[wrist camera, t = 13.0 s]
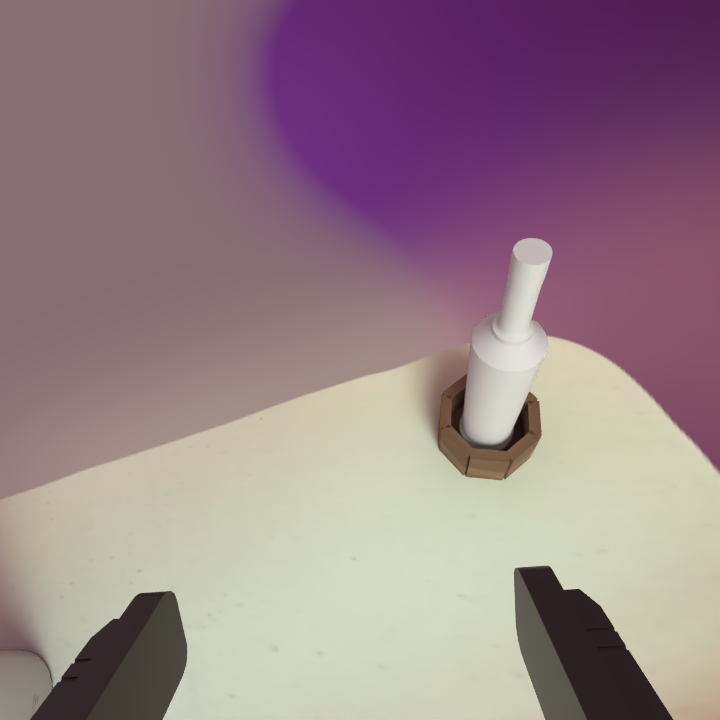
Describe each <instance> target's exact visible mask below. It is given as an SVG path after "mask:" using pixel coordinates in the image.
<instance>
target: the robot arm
mask: <svg viewBox="0 0 720 720" xmlns="http://www.w3.org/2000/svg"><path fill="white" fill-rule="evenodd" d="M514 586H515V612H516V629H517V636H518V641H519V646H520V650H521V653H522V656H523V659H524V662H525V665H526V668H527V670H528V673H529V676H530V678H531V681H532V684H533V687H534V689H535V692H536V695H537V698H538V700H539V703H540V706H541V708H542V711H543V714H544V717H545V719H546V720H673V719H672V717H671V715H670V714H669V712H668V711H667V709H666V708H665V706H664V705H663V703H662V701H661V700H660V698H659V697H658V695H657V694H656V692H655V691H654V689H653V687H652V686H651V684H650V683H649V681H648V680H647V678H646V676H645V675H644V673H643V672H642V670H641V669H640V667H639V666H638V664H637V662H636V661H635V659H634V658H633V656H632V655H631V653H630V652H629V650H627V649H626V645H625V644H624V642H623V641H622V639H621V638H620V636H619V634H618V633H617V632H615V630H614V627H613V625H612V624H611V622H610V620H609V619H608V617H607V616H606V614H605V613H604V611H603V609H602V608H601V606H600V605H598V604H597V603H596V602H595V601H593V600H592V599H591V598H590V597H588V596H587V595H586V594H585V593H584V592H582V591H581V590H580V589H572V590H563V588H562V586H561V584H560V583H559V581H558V579H557V577H556V576H555V574H554V572H553V570H552V569H551V567H550V566H536V567H522V568H515V571H514ZM186 661H187V643H186V639H185V634H184V630H183V625H182V621H181V617H180V612H179V608H178V603H177V599H176V596H175V594H174V593H173V592H171V591H166V592H152V593H140V594H138V595H137V596H135V598H134V599H133V600H132V602H131V603H130V604H129V606H128V607H127V609H126V610H125V611H124V613H123V614H122V616H121V617H120V619H113V620H112V621H110V622H109V623H108V624H107V625H106V626H105V627H103V628H102V629H101V630H100V631H99V632H98V633H96V634H95V635H94V636H93V637H92V638H91V639H90V640H89V641H88V643H87V644H86V645H85V647H84V648H83V649H82V651H81V652H80V653H79V655H78V656H77V657H76V659H75V663H74V664H71V665H70V667H69V668H68V669H67V671H66V672H65V674H64V675H63V676H62V679H61V682H58V683H57V684H56V686H55V687H54V688H53V690H52V682H51V677H50V672H49V670H48V668H47V666H46V664H45V663H44V661H43V660H42V659H41V658H40V657H39V656H37V655H35V654H34V653H32V652H29V651H23V650H0V720H163V717H164V715H165V713H166V711H167V709H168V707H169V704H170V702H171V700H172V698H173V696H174V694H175V691H176V689H177V687H178V685H179V683H180V681H181V678H182V676H183V673H184V670H185V666H186Z"/></svg>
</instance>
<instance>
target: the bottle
mask: <svg viewBox="0 0 720 720" xmlns="http://www.w3.org/2000/svg"><path fill="white" fill-rule="evenodd" d="M551 257H552V248H551V247H550V246H549V244H548V243H546V242H544V241H542V240H540V239H535V238H528V239H524V240H521V241H519V242H518V243H517V244H515V246H514V249H513V252H512V257H511V262H510V266H509V271H508V280H507V285H506V289H505V294H504V298H503V303H502V307H501V312H496V313H493V314H491V315H488V316H485V317H484V318H483V319H482V320H481V321H480V322H479V323H477V324H476V326H475V328H474V330H473V333H472V335H471V344H470V354H469V364H468V373H467V383H466V392H465V402H464V411H463V414H462V416H461V419H460V421H459V431H460V436H461V437H462V438H463V439H464V440H465V441H466V442H467V443H468V444H469V445H470V446H471V447H472V448H474V449H486V450H498V451H503V450H504V449H505V448H506V447H507V446H508V445H509V444H510V442H511V439H512V436H513V433H514V428H513V427H514V425H515V422H516V420H517V418H518V416H519V413H520V411H521V409H522V406H523V404H524V402H525V400H526V397H527V395H528V393H529V391H530V388H531V386H532V384H533V382H534V379H535V377H536V375H537V373H538V370H539V368H540V366H541V364H542V361H543V359H544V357H545V354H546V351H547V348H548V342H547V337H546V333H545V332H544V330H543V329H542V328H541V326H540V325H539V323H537V322H536V321H534V320H533V319H531V317H532V314H533V311H534V307H535V304H536V301H537V298H538V295H539V292H540V288H541V285H542V283H543V281H544V278H545V276H546V272H547V269H548V266H549V262H550V259H551Z"/></svg>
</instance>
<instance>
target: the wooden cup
mask: <svg viewBox="0 0 720 720" xmlns="http://www.w3.org/2000/svg"><path fill="white" fill-rule="evenodd" d="M466 383H467V374H466V375H465V376H464V377H462V378H461V379H460V380H458V381H457V382H456V383H455V384H453V385H452V386H451V387H449V388H448V389H447V390H445V391H444V392H443V395H441V410H440V429H439V447H440V451H441V452H442V453H443V454H444V455H445V456H446V457H447V458H448V460H449V461H450V462H451V463H452V464H453V465H454V466H455V467H456V468H457V469H458V470H459V471H460V472H461V473H462V475H464V474H465V473H466V477H474V478H485V479H495V480H502V479H503V478H504V479H506V478H507V477H508V476H509V475H511V474H512V473H513V472H514V471H515V470H516V469H517V468H519V467H520V466H521V465H522V464H523V463H524V462H525V461H527V460H528V459H529V458H530V456H531V454H532V453H533V451H534V449H535V447H536V445H537V443H538V442H539V440H540V437H541V421H540V407H539V401H537V398H536V397H535V396H534V395H533V394H532V393H530V392H529V393H528V395H527V397H526V400H525V402H524V404H523V406H522V409H521V411H520V413H519V416H518V418H517V420H516V422H515V425H514V427H513V428H514V433H513V436H512V439H511V442H510V444H509V445H508V446H507V447H506V448H505V449H504V450H503V451H498V450H486V449H474V448H472V447H471V446H470V445H469V444H468V443H467V442H466V441H465V440H464V439H463V438H462V437H461V436H460V431H459V421H460V419H461V416H462V414H463V411H464V402H465V392H466Z"/></svg>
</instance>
